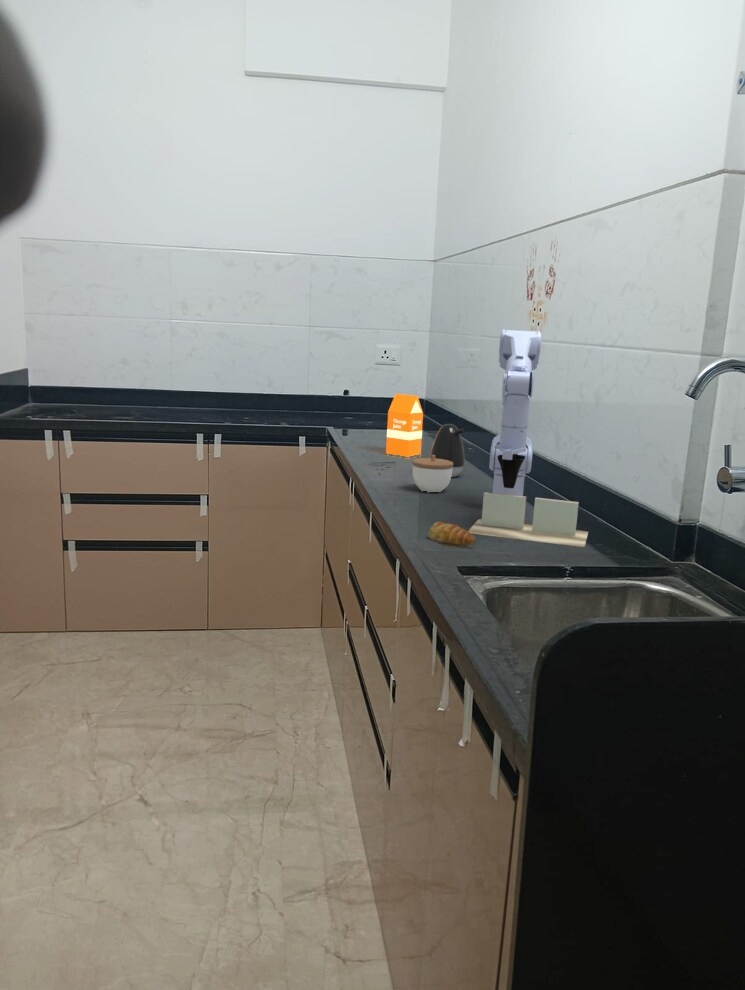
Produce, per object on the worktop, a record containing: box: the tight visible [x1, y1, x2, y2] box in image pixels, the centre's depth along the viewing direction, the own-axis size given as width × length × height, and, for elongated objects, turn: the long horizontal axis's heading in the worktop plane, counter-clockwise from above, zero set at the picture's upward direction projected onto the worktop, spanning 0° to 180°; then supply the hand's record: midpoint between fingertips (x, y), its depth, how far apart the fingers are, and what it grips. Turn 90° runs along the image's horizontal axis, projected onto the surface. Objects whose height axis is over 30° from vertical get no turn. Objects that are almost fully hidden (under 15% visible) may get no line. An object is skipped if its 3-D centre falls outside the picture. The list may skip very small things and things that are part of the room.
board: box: [467, 518, 589, 548], centre depth 177 cm, size 14×24×1 cm, turn 72°
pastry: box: [427, 521, 476, 548], centre depth 167 cm, size 9×7×4 cm
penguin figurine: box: [429, 423, 466, 478], centre depth 239 cm, size 10×10×15 cm
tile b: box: [532, 497, 579, 536], centre depth 177 cm, size 1×9×7 cm, turn 73°
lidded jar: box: [411, 455, 453, 493], centre depth 218 cm, size 11×11×9 cm
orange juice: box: [385, 393, 424, 457], centre depth 272 cm, size 8×9×20 cm
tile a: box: [481, 491, 527, 529], centre depth 180 cm, size 1×9×7 cm, turn 72°
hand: (509, 487), depth 184 cm, fingers closed
